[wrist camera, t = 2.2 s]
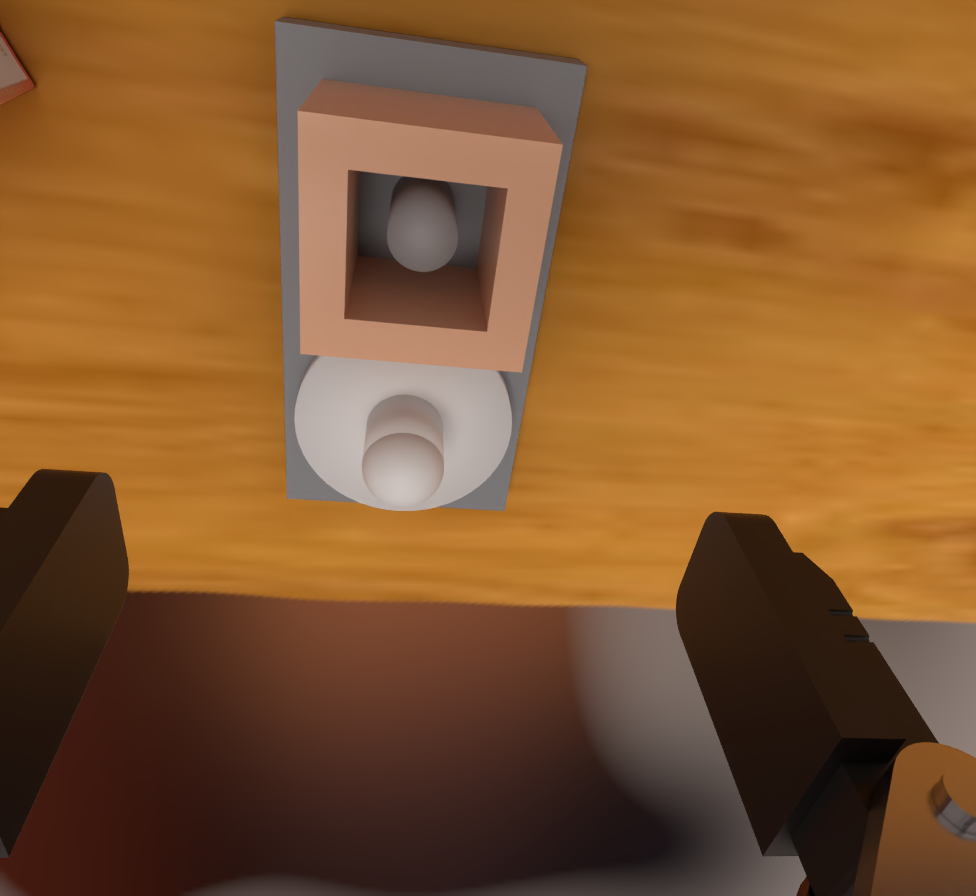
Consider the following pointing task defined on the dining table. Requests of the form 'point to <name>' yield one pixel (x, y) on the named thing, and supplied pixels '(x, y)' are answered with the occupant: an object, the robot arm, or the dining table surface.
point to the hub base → (420, 76)
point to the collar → (385, 282)
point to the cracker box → (11, 74)
